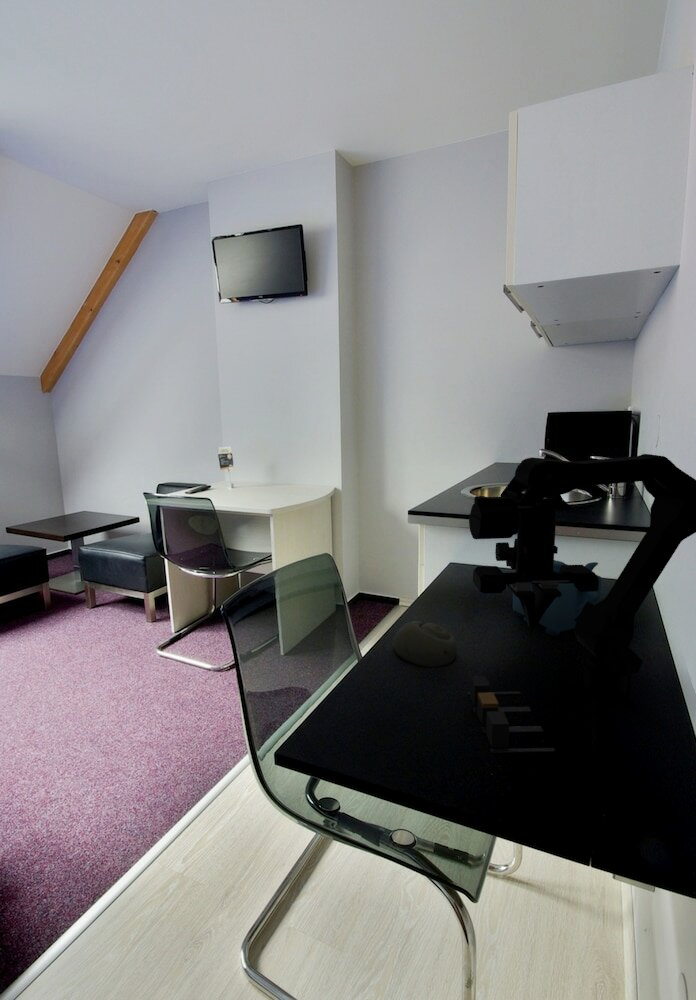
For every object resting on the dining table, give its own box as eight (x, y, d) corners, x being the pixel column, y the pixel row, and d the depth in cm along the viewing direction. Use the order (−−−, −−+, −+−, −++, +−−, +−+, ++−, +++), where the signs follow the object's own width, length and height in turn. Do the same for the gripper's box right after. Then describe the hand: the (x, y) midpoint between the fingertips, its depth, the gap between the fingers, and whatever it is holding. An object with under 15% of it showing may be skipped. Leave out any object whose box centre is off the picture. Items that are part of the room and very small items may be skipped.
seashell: (457, 618, 101) (451, 632, 91) (460, 656, 101) (454, 675, 92) (396, 617, 105) (384, 630, 96) (398, 654, 105) (387, 671, 96)
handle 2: (502, 733, 74) (503, 711, 73) (508, 747, 71) (509, 723, 70) (485, 734, 74) (486, 711, 73) (491, 747, 71) (492, 724, 70)
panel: (544, 696, 86) (544, 689, 85) (588, 761, 70) (589, 752, 70) (439, 698, 86) (439, 691, 85) (460, 763, 70) (460, 754, 70)
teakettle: (600, 647, 103) (605, 579, 100) (505, 633, 110) (508, 569, 107) (594, 613, 120) (598, 554, 117) (512, 602, 127) (515, 547, 124)
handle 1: (484, 695, 84) (484, 675, 83) (489, 706, 81) (489, 685, 80) (470, 696, 84) (470, 676, 83) (474, 706, 81) (474, 685, 80)
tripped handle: (492, 713, 79) (493, 692, 78) (497, 725, 76) (498, 703, 75) (477, 714, 79) (477, 692, 78) (482, 725, 76) (482, 703, 75)
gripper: (572, 524, 88) (566, 607, 91) (466, 526, 88) (464, 609, 91) (603, 540, 77) (596, 635, 80) (482, 542, 77) (480, 637, 80)
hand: (531, 627), depth 83 cm, fingers closed
